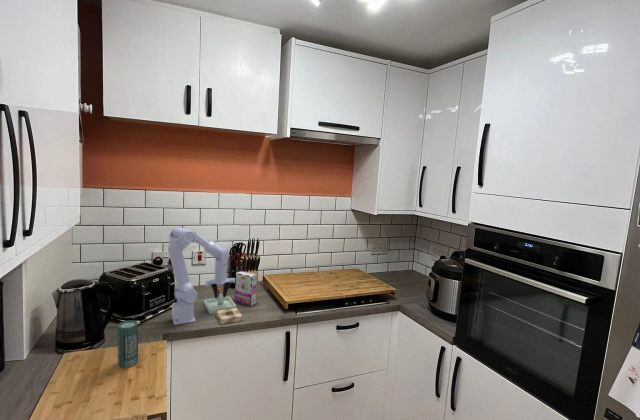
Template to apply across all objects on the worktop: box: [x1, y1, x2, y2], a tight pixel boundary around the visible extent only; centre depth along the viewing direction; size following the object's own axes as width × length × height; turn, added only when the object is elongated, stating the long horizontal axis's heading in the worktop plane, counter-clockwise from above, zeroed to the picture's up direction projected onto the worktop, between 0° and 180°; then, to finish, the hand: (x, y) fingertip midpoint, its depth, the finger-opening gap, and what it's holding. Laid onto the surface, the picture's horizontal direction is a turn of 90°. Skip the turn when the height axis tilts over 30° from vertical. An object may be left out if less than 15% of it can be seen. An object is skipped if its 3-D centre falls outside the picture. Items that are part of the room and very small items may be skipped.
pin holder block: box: [215, 307, 243, 325], centre depth 165 cm, size 10×10×2 cm
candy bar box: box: [234, 270, 258, 307], centre depth 184 cm, size 11×5×16 cm, turn 62°
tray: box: [203, 296, 237, 315], centre depth 177 cm, size 13×13×2 cm
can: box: [117, 320, 139, 369], centre depth 124 cm, size 6×6×15 cm
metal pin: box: [217, 287, 224, 305], centre depth 176 cm, size 4×4×8 cm
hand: (220, 297), depth 176 cm, fingers closed on metal pin, 4 cm apart
